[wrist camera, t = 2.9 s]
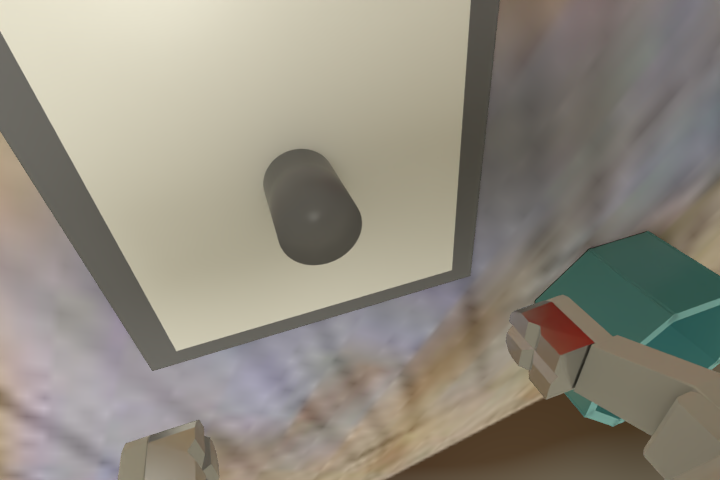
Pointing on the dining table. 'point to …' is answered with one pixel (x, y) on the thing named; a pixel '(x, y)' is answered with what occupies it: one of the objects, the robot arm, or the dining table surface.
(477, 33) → the rubber mat
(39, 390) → the dining table surface
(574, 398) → the teal octagonal bowl
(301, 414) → the dining table surface
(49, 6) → the cover board
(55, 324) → the dining table surface
